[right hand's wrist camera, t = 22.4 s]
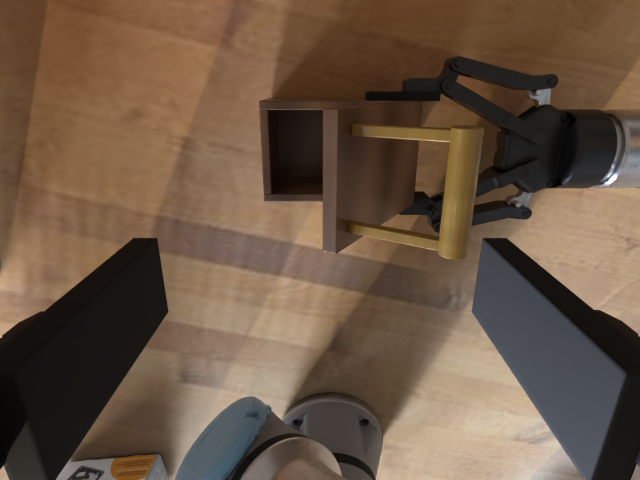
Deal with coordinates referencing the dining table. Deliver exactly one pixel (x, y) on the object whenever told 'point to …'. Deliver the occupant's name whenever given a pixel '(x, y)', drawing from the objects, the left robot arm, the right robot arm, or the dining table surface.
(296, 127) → the chest
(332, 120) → the lid
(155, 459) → the hard drive box
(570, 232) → the dining table surface
